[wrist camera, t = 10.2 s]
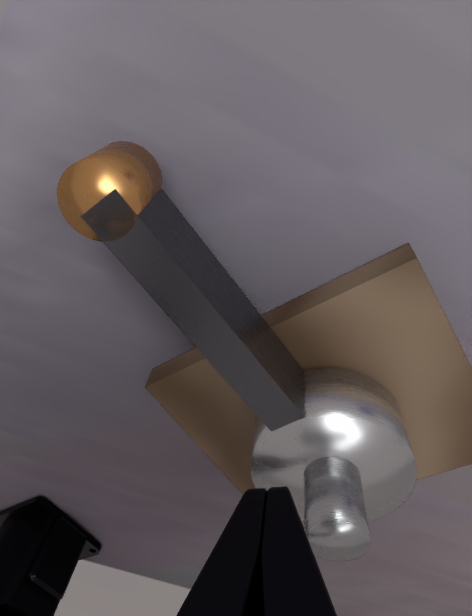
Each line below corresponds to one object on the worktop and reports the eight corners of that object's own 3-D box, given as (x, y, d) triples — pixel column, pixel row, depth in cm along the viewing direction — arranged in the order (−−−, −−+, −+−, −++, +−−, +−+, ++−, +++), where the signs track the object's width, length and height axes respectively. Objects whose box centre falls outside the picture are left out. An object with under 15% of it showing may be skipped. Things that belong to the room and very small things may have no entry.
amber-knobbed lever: (427, 444, 22) (468, 569, 17) (303, 488, 24) (305, 607, 19) (176, 85, 15) (113, 108, 10) (42, 201, 17) (-63, 267, 12)
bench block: (270, 501, 28) (268, 522, 27) (152, 368, 24) (144, 387, 22) (501, 428, 23) (514, 451, 22) (408, 242, 19) (416, 257, 17)
